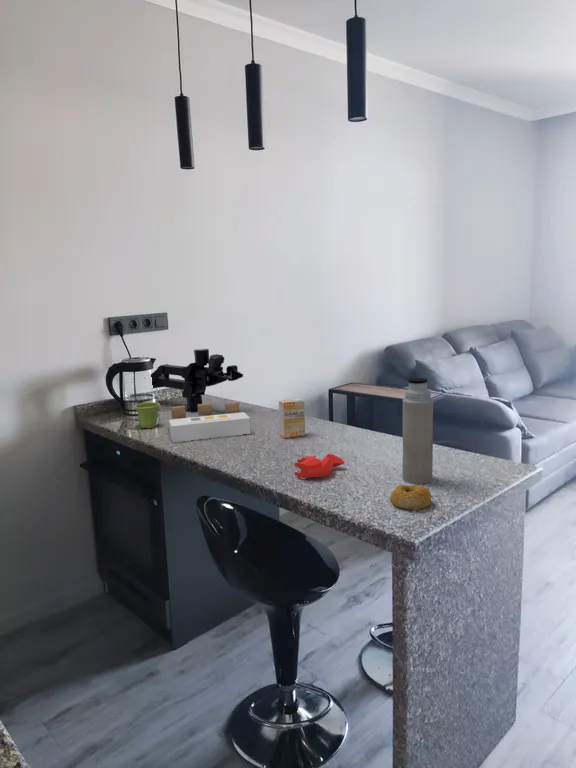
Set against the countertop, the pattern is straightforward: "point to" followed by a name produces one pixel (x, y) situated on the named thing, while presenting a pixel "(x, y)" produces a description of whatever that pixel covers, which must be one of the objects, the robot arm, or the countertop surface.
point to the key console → (209, 427)
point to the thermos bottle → (417, 432)
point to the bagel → (411, 497)
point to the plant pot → (147, 414)
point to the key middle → (204, 409)
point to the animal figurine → (317, 466)
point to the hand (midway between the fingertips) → (234, 377)
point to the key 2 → (232, 408)
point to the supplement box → (292, 418)
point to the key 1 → (178, 412)
